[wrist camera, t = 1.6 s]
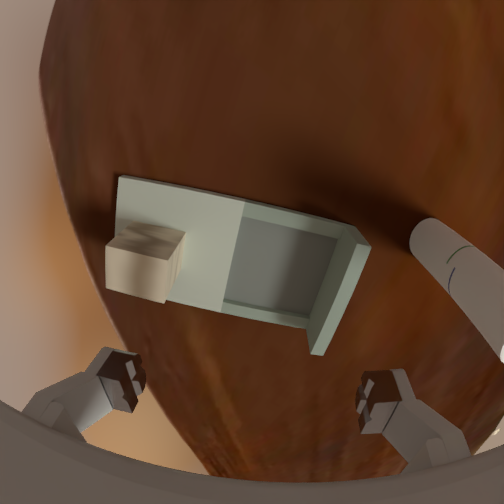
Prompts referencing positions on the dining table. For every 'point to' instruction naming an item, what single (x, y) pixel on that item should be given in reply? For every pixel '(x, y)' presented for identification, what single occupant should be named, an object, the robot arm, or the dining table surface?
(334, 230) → the board
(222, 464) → the dining table surface
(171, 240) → the birch block
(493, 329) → the cylindrical container
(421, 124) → the dining table surface
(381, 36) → the dining table surface
